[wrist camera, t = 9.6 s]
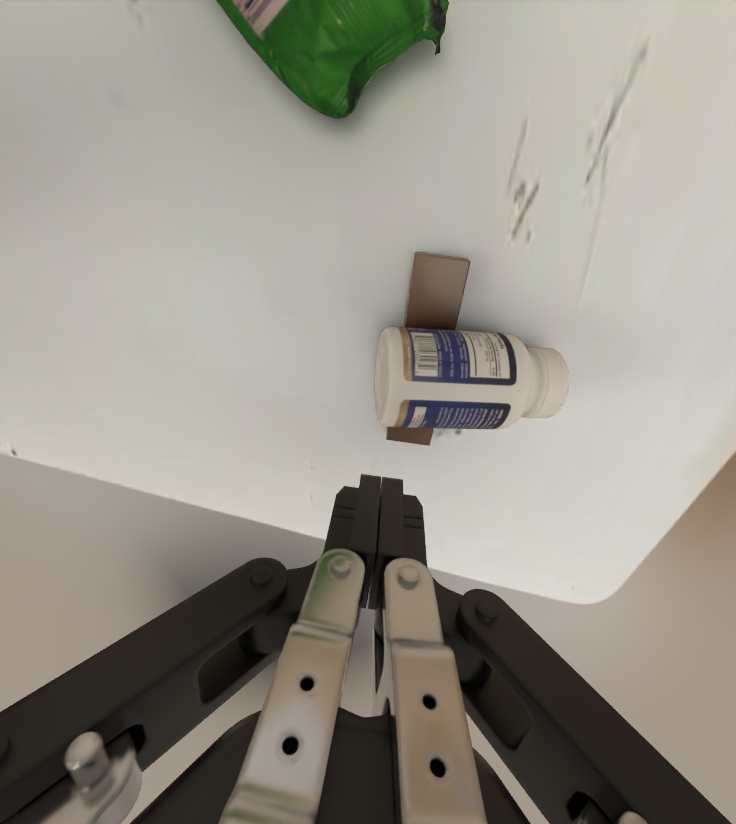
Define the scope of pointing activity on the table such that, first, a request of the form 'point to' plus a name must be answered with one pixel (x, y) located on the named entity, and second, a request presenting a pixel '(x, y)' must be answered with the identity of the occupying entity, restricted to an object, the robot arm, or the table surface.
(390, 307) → the table surface
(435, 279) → the bar
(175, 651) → the robot arm
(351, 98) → the snack package
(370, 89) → the table surface
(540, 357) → the pill bottle
